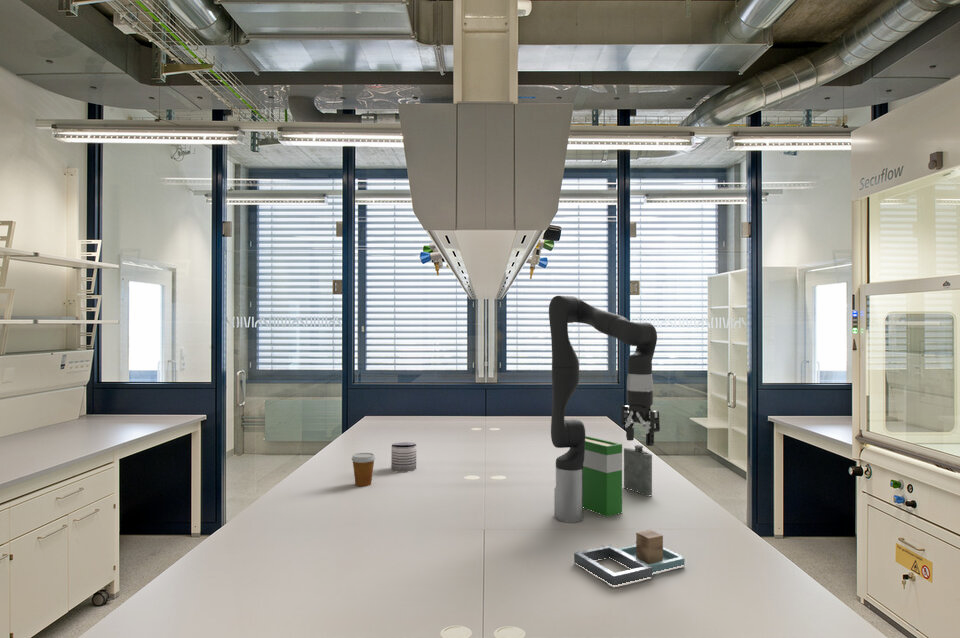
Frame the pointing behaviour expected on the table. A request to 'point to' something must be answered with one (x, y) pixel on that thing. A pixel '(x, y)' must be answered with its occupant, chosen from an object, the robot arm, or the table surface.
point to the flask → (638, 470)
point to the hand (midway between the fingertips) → (639, 442)
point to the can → (403, 457)
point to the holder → (637, 567)
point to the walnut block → (649, 546)
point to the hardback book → (602, 476)
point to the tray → (668, 561)
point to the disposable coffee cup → (363, 468)
